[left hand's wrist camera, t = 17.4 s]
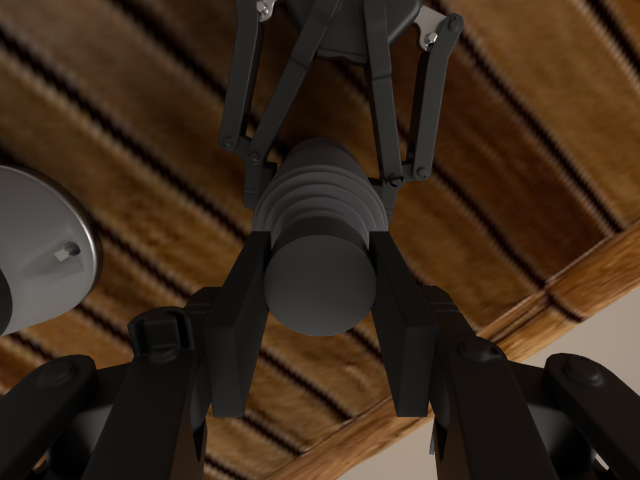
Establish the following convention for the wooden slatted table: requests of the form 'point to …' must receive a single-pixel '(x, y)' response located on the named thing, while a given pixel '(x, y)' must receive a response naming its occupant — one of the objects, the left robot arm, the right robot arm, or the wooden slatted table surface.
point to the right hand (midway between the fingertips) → (310, 256)
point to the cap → (320, 277)
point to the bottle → (319, 191)
